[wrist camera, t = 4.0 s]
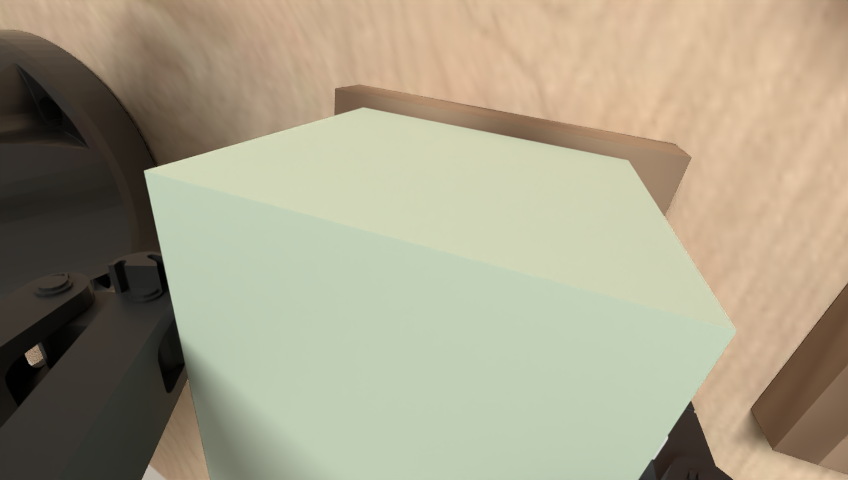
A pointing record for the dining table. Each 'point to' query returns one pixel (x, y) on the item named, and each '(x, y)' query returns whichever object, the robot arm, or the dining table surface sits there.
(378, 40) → the dining table surface
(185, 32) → the dining table surface
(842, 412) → the square hole block
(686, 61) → the dining table surface
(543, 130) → the board
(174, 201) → the pale green cube
